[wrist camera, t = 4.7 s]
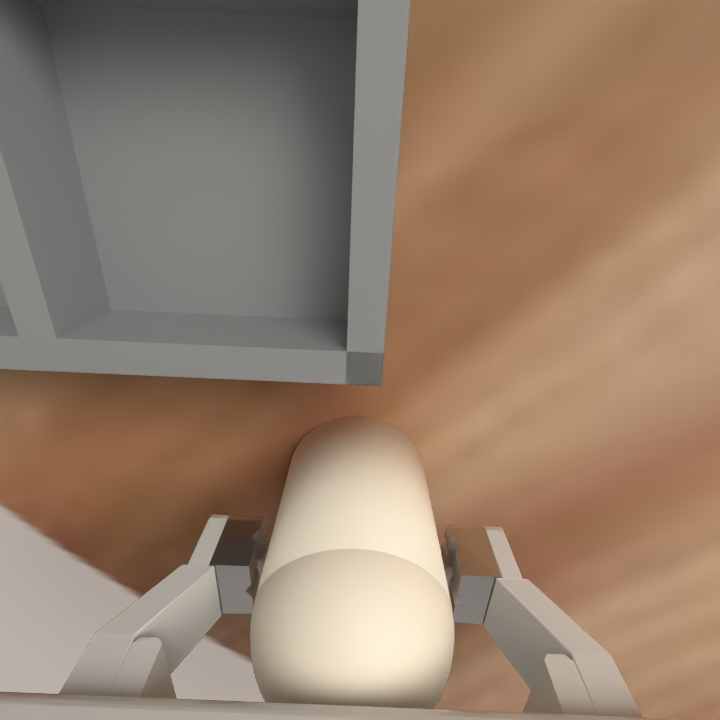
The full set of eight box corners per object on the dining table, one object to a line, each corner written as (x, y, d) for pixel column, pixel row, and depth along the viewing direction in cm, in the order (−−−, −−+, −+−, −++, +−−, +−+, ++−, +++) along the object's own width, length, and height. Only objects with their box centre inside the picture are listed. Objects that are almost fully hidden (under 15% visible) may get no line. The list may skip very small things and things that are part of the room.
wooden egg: (416, 524, 15) (458, 809, 8) (292, 519, 15) (232, 800, 8) (430, 419, 13) (501, 680, 6) (288, 413, 13) (205, 669, 6)
